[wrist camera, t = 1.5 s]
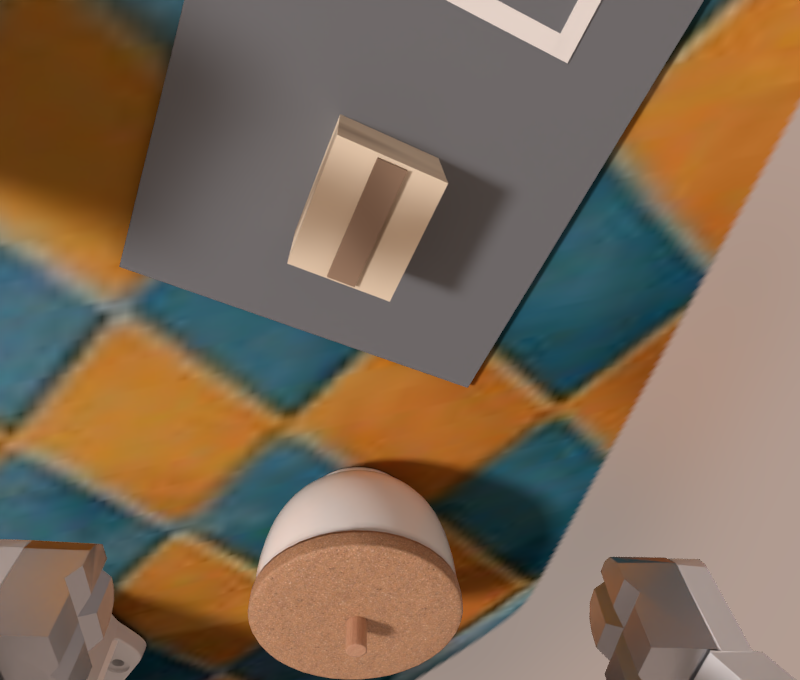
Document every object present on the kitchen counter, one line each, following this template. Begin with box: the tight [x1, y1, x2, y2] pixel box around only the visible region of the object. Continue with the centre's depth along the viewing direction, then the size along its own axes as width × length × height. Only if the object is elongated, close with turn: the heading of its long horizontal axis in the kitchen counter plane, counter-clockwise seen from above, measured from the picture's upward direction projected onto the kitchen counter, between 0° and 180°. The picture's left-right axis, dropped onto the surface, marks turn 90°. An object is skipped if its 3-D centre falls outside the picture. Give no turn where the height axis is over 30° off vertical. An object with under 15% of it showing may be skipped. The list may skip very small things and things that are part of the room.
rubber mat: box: [119, 0, 704, 388], centre depth 25 cm, size 27×18×1 cm, turn 156°
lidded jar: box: [248, 467, 463, 679], centre depth 34 cm, size 11×11×9 cm
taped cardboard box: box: [287, 114, 448, 302], centre depth 26 cm, size 6×4×4 cm
